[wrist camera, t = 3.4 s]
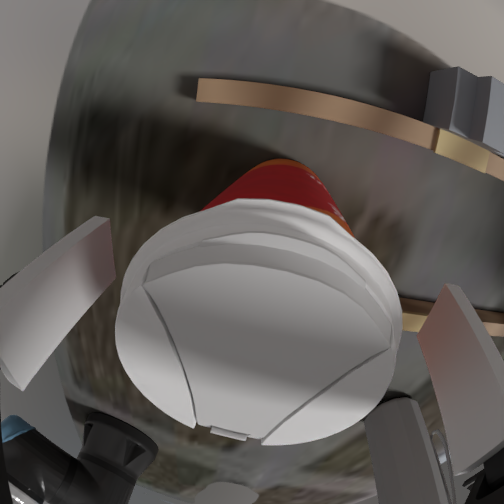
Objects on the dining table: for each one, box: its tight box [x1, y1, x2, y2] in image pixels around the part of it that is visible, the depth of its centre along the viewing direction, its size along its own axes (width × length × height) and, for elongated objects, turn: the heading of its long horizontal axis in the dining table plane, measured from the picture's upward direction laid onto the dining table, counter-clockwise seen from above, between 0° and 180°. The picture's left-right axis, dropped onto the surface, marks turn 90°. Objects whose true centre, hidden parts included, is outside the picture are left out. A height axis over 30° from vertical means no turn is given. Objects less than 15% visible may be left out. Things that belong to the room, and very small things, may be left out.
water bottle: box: [364, 397, 456, 504], centre depth 18 cm, size 9×8×25 cm
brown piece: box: [196, 78, 504, 336], centre depth 18 cm, size 36×15×2 cm, turn 82°
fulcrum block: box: [423, 67, 504, 157], centre depth 12 cm, size 5×4×6 cm
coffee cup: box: [115, 159, 403, 445], centre depth 13 cm, size 8×8×15 cm
